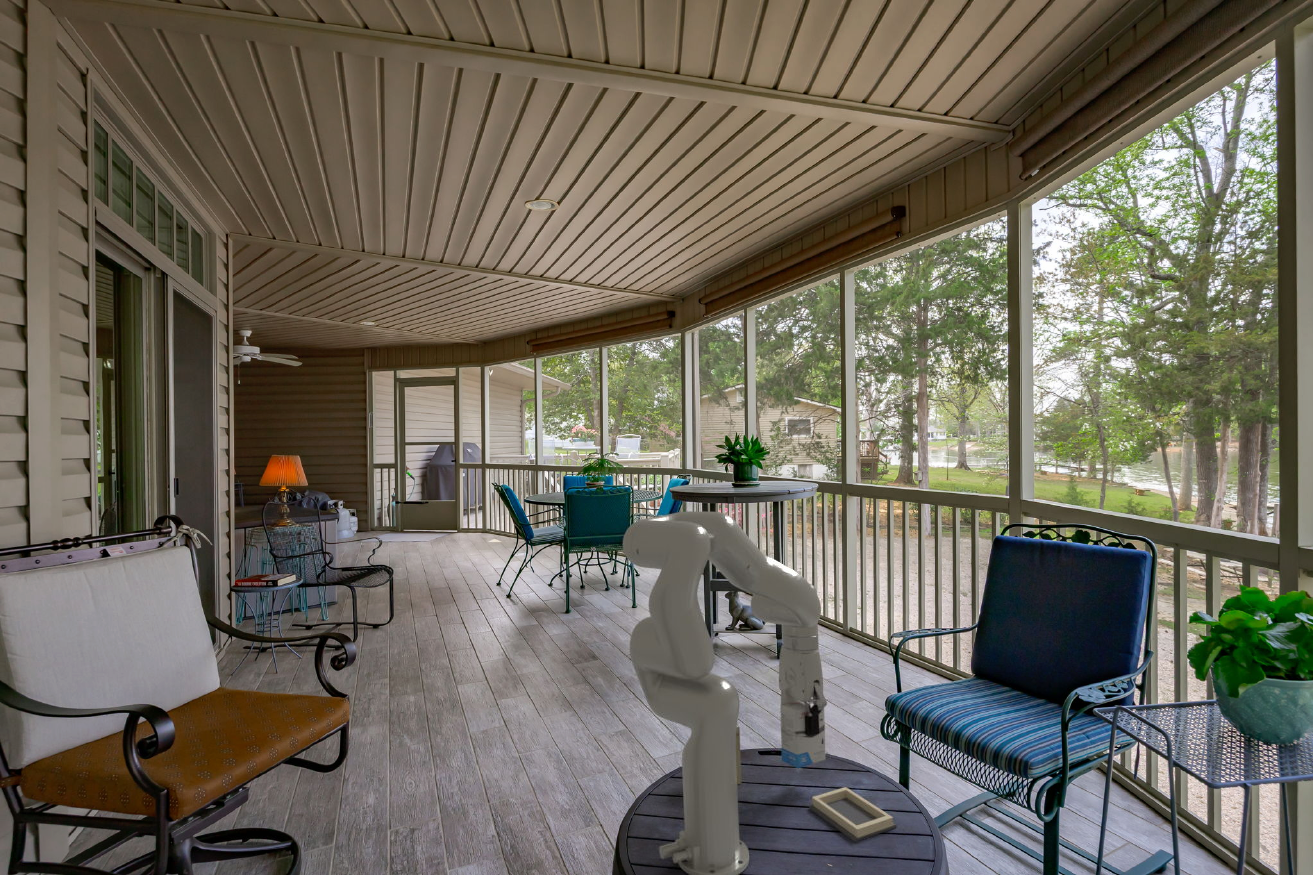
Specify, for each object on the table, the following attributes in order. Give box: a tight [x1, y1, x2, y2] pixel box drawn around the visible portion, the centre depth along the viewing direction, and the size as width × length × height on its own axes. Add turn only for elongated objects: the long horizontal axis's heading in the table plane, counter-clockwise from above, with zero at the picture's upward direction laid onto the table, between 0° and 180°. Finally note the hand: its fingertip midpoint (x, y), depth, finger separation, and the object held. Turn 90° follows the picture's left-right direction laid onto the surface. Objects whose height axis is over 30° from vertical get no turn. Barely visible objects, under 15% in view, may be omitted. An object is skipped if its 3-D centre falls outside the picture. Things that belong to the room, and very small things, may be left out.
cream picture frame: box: [808, 786, 897, 843], centre depth 123 cm, size 10×13×2 cm
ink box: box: [780, 689, 826, 769], centre depth 136 cm, size 8×5×15 cm, turn 123°
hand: (803, 728), depth 136 cm, fingers closed on ink box, 5 cm apart
